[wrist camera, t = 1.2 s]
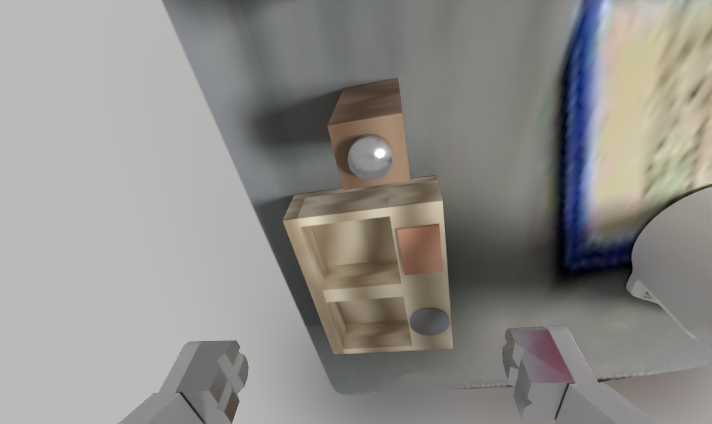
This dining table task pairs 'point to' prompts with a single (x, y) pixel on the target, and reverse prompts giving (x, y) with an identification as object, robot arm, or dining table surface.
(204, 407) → the robot arm
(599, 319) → the dining table surface
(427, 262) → the tag socket block
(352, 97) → the plug
